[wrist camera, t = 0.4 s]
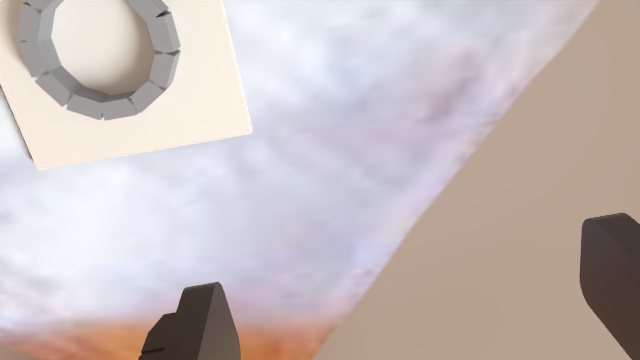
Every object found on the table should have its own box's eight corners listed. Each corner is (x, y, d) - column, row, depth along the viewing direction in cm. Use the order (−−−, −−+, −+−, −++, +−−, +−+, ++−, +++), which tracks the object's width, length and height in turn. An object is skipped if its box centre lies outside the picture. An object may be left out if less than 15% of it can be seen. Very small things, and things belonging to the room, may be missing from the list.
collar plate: (-86, -141, 31) (-124, -150, 28) (177, -192, 30) (165, -207, 27) (44, 165, 39) (24, 182, 36) (252, 129, 38) (249, 143, 35)
